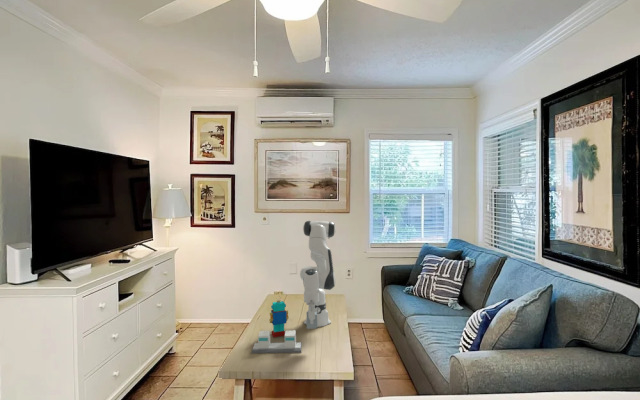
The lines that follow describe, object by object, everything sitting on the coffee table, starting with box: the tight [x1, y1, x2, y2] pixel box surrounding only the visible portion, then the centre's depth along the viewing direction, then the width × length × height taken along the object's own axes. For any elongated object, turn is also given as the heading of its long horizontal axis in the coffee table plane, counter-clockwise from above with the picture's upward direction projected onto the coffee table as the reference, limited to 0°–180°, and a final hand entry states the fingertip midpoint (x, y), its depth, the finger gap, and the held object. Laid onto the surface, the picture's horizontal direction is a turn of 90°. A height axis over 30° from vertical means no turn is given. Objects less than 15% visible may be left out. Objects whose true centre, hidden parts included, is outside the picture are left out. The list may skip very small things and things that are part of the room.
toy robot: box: [269, 296, 289, 338], centre depth 227 cm, size 12×6×25 cm, turn 111°
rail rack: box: [251, 329, 303, 354], centre depth 208 cm, size 11×28×9 cm, turn 91°
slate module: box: [306, 311, 318, 330], centre depth 208 cm, size 4×6×8 cm
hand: (311, 321), depth 208 cm, fingers closed on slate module, 4 cm apart
